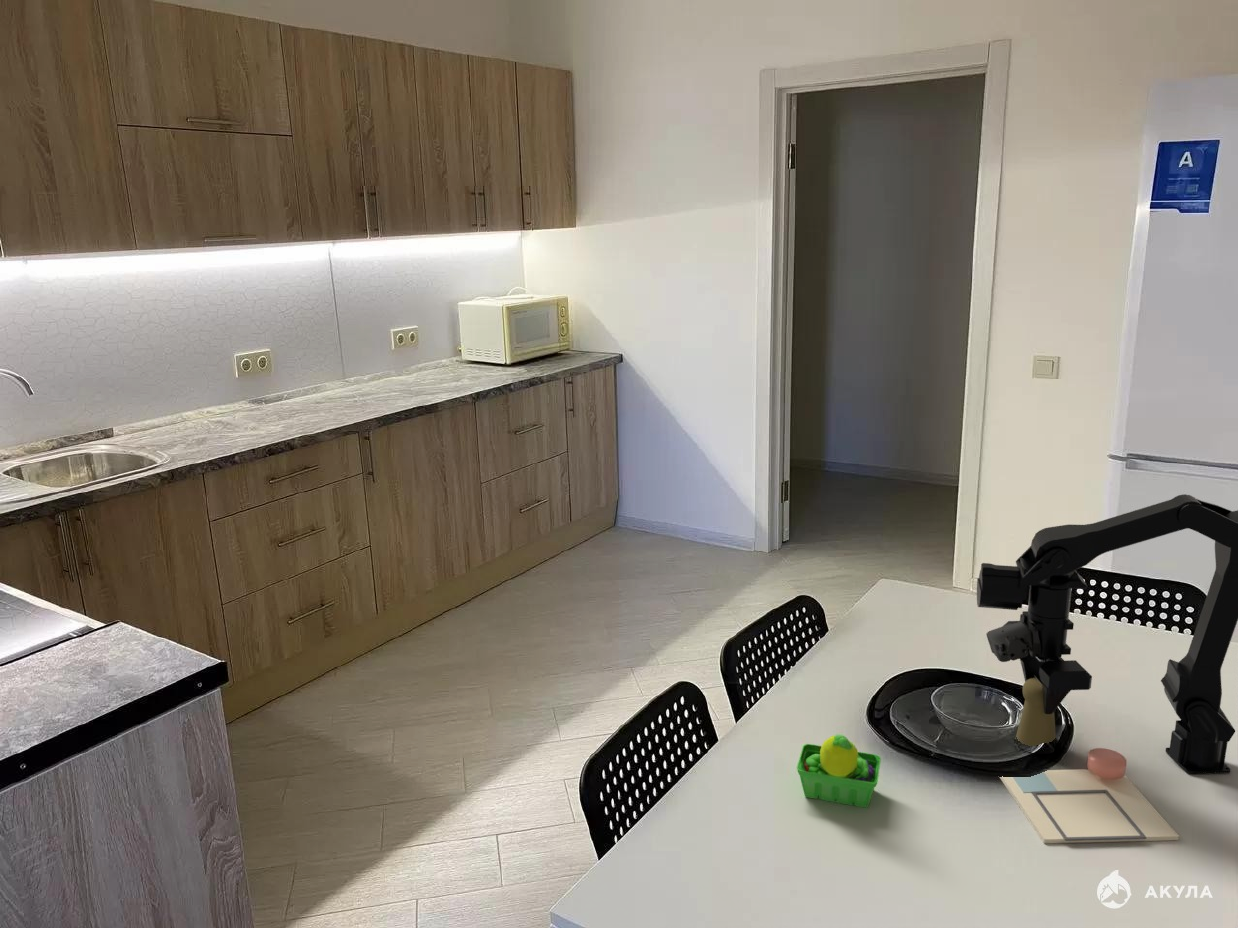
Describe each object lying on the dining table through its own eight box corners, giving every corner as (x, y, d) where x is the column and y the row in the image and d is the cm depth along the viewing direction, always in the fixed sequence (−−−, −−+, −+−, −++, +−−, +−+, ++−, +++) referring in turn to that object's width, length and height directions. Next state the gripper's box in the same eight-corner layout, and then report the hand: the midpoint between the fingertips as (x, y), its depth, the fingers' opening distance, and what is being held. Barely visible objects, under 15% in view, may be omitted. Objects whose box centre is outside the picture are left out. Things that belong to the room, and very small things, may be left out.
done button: (1114, 759, 143) (1115, 747, 143) (1131, 778, 138) (1133, 766, 138) (1080, 760, 143) (1082, 748, 143) (1097, 779, 138) (1098, 767, 138)
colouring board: (1118, 771, 143) (1118, 766, 143) (1180, 841, 127) (1181, 836, 127) (998, 774, 143) (998, 769, 143) (1045, 845, 127) (1045, 839, 127)
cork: (1060, 756, 147) (1067, 692, 145) (1019, 753, 149) (1024, 689, 146) (1051, 736, 153) (1057, 673, 150) (1011, 732, 154) (1017, 671, 151)
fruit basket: (880, 784, 142) (883, 716, 139) (875, 820, 134) (878, 748, 131) (802, 772, 145) (804, 705, 142) (793, 805, 137) (795, 736, 134)
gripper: (973, 589, 154) (966, 676, 158) (1020, 639, 136) (1011, 736, 140) (1042, 587, 154) (1034, 674, 158) (1098, 637, 136) (1087, 734, 140)
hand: (1039, 703), depth 149 cm, fingers open, 6 cm apart
